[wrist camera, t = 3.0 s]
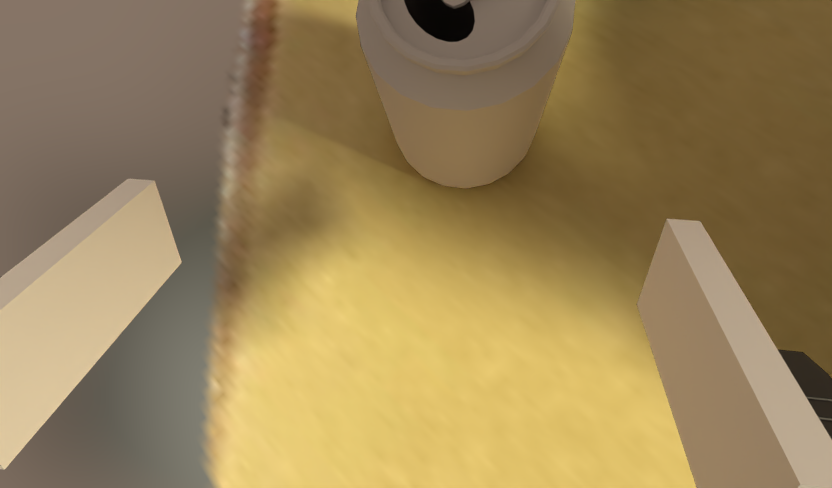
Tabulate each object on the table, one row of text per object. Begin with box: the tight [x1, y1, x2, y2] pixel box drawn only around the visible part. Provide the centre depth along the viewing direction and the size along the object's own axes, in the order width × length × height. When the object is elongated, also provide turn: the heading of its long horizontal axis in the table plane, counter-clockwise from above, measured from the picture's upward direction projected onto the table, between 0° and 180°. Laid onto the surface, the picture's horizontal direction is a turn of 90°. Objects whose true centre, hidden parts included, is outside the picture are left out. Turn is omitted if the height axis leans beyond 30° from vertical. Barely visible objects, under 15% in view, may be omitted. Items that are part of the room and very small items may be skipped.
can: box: [356, 0, 575, 188], centre depth 21 cm, size 8×8×12 cm
